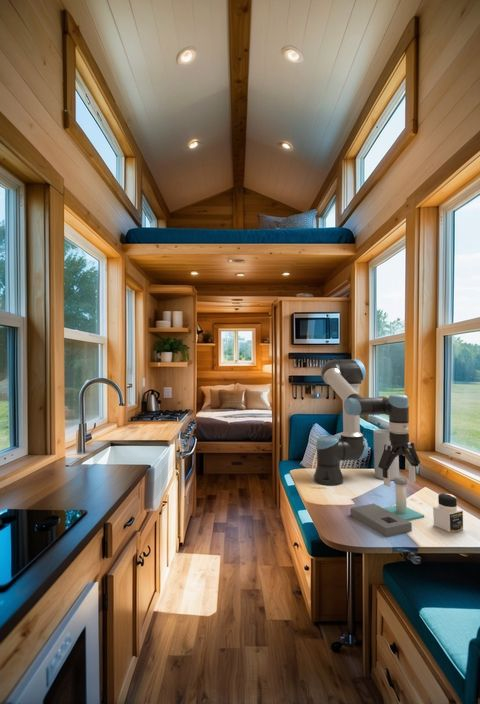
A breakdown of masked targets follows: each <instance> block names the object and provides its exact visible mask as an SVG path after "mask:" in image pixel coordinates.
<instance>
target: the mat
mask: <svg viewBox="0 0 480 704" xmlns="http://www.w3.org/2000/svg"><path fill="white" fill-rule="evenodd" d="M383 508H384V509H386V510H388V511H390V512H392V513H394V514H396V515H397V516H399V517H401V518H403V519H405V520H407V521H409V522H410V521H413V520H417V519H422V518H425V514H423V513H420V512H418V511H416V510H414V509H412V508H409V507H407V513H406V514H399V513H397V512H396V505H392V506H387V507H383Z"/></svg>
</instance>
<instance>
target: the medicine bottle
mask: <svg viewBox="0 0 480 704" xmlns="http://www.w3.org/2000/svg"><path fill="white" fill-rule="evenodd" d="M437 498H438V502H437V503H438V505H434V506H433V508H432V509H433V526H435V527H437V528H439V529H441V530H444V531H446V532H448V533H450V534H452V533H455V532H458V531H461V530H464V515H463V510H462V509H460V508H458V502H457V500H458V499H457V497H456V496H455V495H453V494H451V493H450V494H449V493H440V494H438V497H437Z"/></svg>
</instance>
